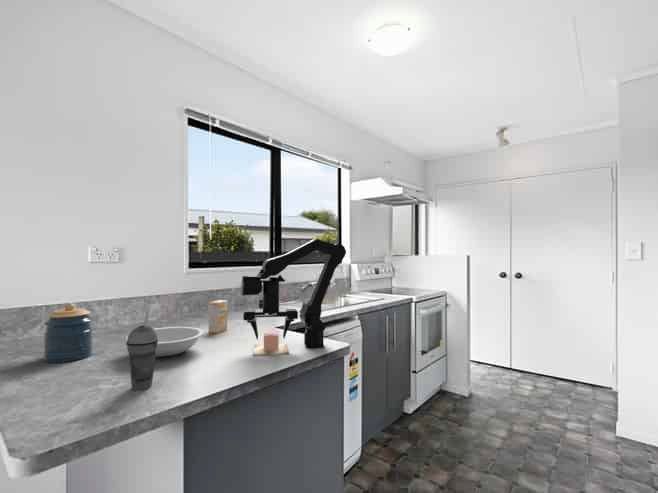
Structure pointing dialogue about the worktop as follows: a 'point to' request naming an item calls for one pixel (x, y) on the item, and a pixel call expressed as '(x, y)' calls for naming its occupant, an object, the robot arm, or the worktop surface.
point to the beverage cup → (142, 355)
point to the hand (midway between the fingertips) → (270, 338)
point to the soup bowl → (175, 339)
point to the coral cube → (271, 341)
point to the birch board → (260, 350)
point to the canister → (68, 335)
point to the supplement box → (218, 316)
